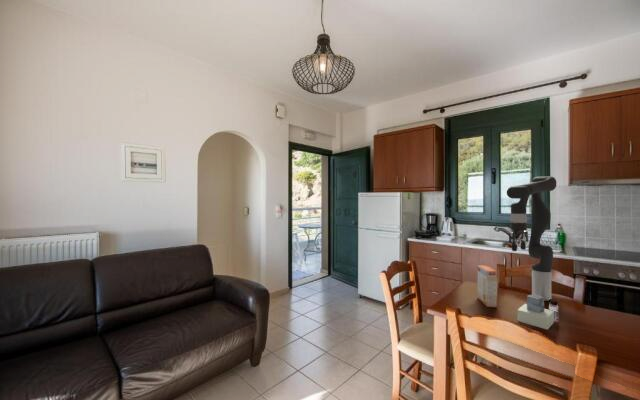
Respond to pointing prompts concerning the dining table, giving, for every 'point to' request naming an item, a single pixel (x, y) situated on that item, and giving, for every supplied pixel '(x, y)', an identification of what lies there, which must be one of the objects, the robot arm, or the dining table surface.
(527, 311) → the sage block
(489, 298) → the cracker box
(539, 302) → the slate block
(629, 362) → the dining table surface
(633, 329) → the dining table surface
